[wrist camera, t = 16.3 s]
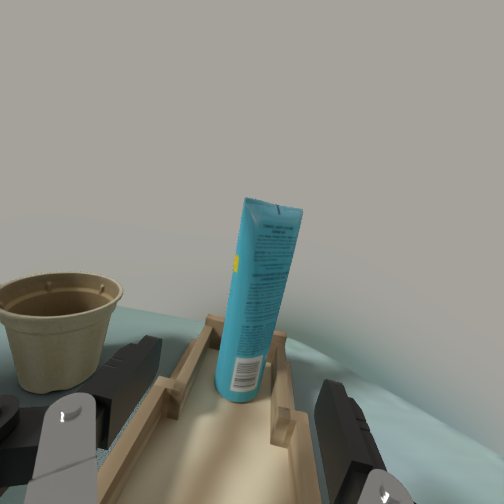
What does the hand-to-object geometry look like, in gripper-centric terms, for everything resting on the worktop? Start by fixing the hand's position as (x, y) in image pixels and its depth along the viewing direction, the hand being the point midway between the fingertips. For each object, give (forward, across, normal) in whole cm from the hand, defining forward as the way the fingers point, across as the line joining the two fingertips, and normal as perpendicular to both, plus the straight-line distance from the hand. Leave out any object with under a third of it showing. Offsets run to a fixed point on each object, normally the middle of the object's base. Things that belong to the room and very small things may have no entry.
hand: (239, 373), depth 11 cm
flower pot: (+9, -17, -13) cm, 23 cm away
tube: (+12, 0, -12) cm, 16 cm away
